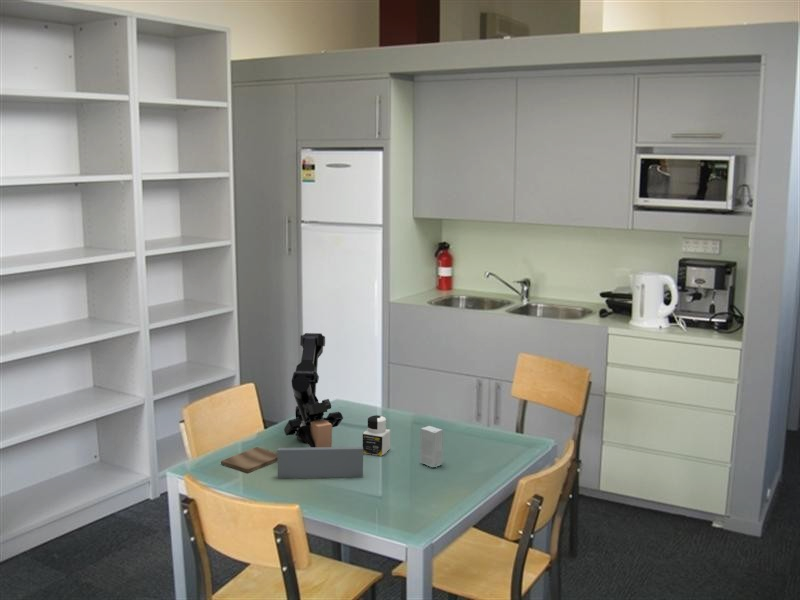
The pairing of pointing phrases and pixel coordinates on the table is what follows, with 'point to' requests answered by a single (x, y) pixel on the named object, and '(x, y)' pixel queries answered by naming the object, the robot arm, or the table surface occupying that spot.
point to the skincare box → (431, 445)
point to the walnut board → (251, 460)
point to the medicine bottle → (376, 436)
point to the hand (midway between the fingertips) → (322, 446)
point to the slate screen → (320, 462)
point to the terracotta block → (321, 433)
